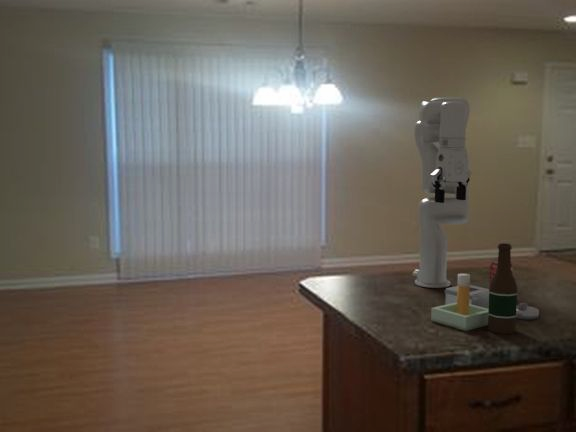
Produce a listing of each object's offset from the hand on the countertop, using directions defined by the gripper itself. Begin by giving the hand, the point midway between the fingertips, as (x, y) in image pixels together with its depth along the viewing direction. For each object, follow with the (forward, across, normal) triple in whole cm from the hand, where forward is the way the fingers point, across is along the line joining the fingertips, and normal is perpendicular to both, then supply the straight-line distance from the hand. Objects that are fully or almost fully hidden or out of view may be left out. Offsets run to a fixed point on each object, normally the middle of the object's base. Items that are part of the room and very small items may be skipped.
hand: (450, 201), depth 194 cm
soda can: (+34, +23, -3) cm, 41 cm away
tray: (+33, -7, -12) cm, 36 cm away
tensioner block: (+34, +7, -3) cm, 35 cm away
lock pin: (+32, -7, -12) cm, 35 cm away
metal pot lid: (+34, +13, -18) cm, 40 cm away
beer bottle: (+33, -5, -24) cm, 41 cm away
